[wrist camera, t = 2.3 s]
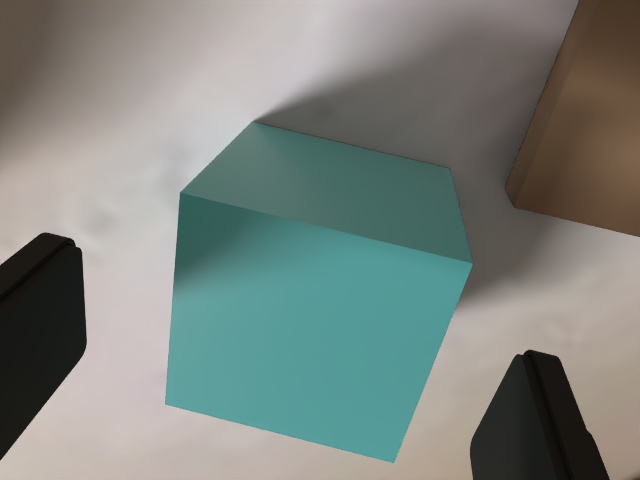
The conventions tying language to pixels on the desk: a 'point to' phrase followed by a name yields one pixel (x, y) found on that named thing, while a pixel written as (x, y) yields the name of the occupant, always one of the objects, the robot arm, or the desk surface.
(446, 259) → the teal foam cube
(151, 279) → the desk surface
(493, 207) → the desk surface
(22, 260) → the robot arm
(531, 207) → the post block
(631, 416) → the desk surface
